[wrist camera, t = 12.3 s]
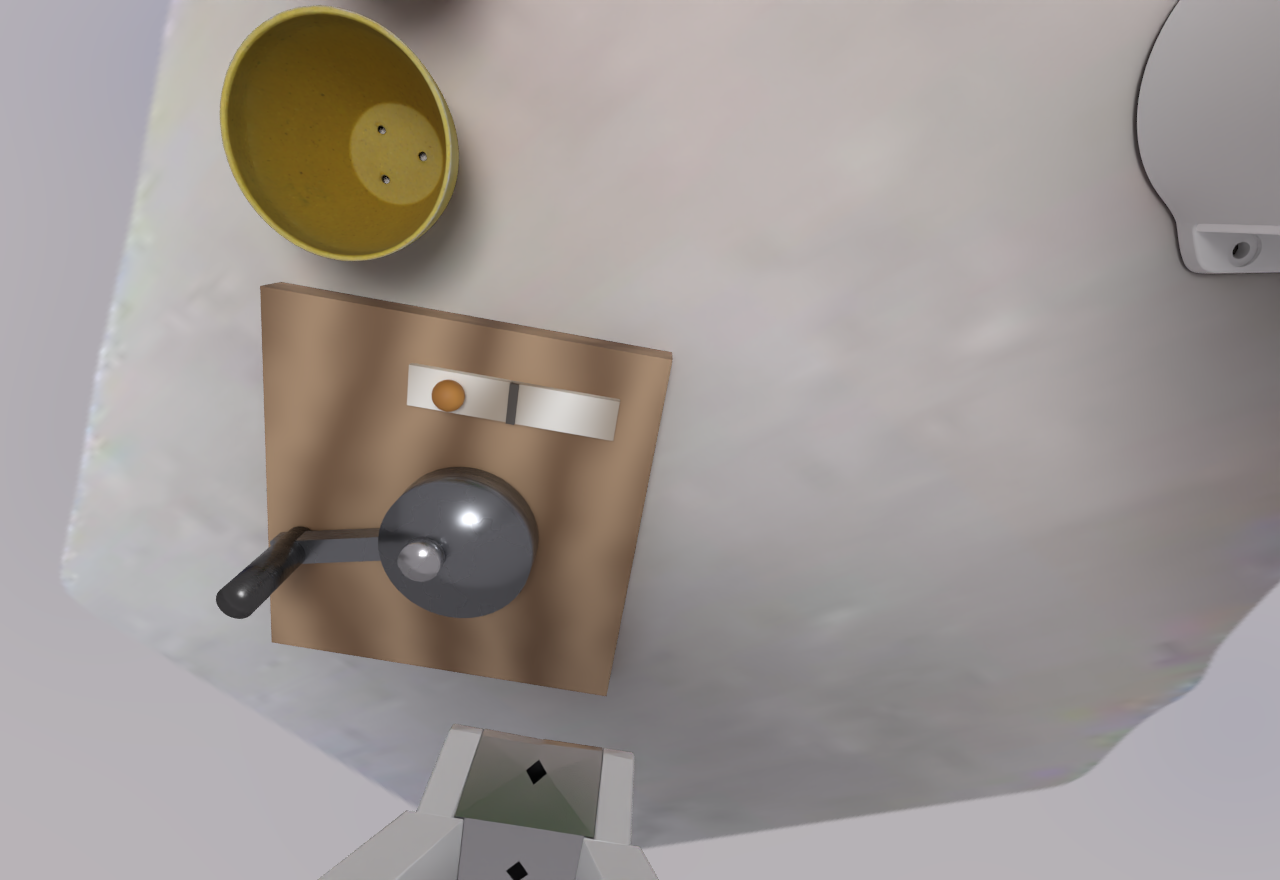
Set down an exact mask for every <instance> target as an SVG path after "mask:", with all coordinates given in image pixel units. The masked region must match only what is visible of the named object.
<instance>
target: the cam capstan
mask: <svg viewBox="0 0 1280 880" xmlns="http://www.w3.org/2000/svg"><path fill="white" fill-rule="evenodd" d="M538 541H539V537H538V528H537V523H536V520H535V517H534V514H533V512H532V510H531V508H530V506H529V505H528V503H527V502H526V500H525V499H524V498H523V496H522V495H521V494H520V493H519V492H518V491H517V490H516V489H515V488H514V487H512V486H511V485H510V484H509V483H507V482H506V481H504V480H503V479H501V478H499V477H497V476H496V475H494V474H491V473H489V472H486V471H483V470H479V469H475V468H469V467H448V468H442V469H438V470H435V471H432V472H430V473H427V474H425V475H424V476H422V477H420V478H419V479H417V480H416V481H415V482H413V483H412V484H411V485H410V486H409V487H408V488H407V489H406V490H405V492H404V493H403V494H402V495H401V496H400V497H399V498H398V499H397V500H396V502H395V503H394V504H393V505H392V506H391V507H390V509H389V510H388V511H387V513H386V514H385V516H384V519H383V521H382V523H381V526H380V528H368V529H345V530H321V531H311V530H309V529H308V528H305V527H301V526H297V527H293V528H291V529H290V530H289V531H287V532H280V533H279V534H278V535H277V536H276V537H275V538H273V539H272V540H271V541H270V545H271V546H270V547H269V548H268V549H267V550H266V551H264V552H263V553H262V554H261V555H260V556H259V557H258V558H256V559H255V560H254V561H253V562H252V563H251V564H250V565H248V566H247V567H246V568H245V569H244V570H243V571H242V572H240V573H239V574H238V575H237V576H236V577H235V578H233V579H232V580H231V581H230V582H229V583H228V584H227V585H225V586H224V587H223V588H222V589H221V590H220V591H219V592H218V593H217V596H216V602H217V605H218V607H219V608H220V610H221V611H222V612H223V613H225V614H226V615H228V616H230V617H232V618H237V619H242V618H246V617H248V616H250V615H251V614H252V613H253V612H254V611H255V610H256V609H257V608H258V607H259V606H260V605H261V604H262V603H263V602H264V601H265V600H266V599H267V598H268V597H269V596H270V595H271V594H272V593H273V592H274V591H275V590H276V589H277V588H278V587H279V586H280V585H281V584H282V583H283V582H284V581H285V580H286V579H287V578H288V577H289V576H290V575H291V574H292V573H293V572H294V571H295V570H296V569H297V568H298V567H299V566H300V565H301V564H310V563H335V562H361V561H381V563H382V566H383V568H384V570H385V572H386V574H387V576H388V578H389V579H390V581H391V582H392V583H393V585H394V586H395V587H396V588H397V589H398V590H399V591H400V592H401V593H402V594H403V595H404V596H405V597H406V598H407V599H409V600H410V601H411V602H413V603H414V604H416V605H418V606H419V607H421V608H423V609H425V610H427V611H430V612H432V613H435V614H438V615H442V616H446V617H453V618H474V617H480V616H485V615H488V614H491V613H494V612H496V611H498V610H500V609H502V608H503V607H505V606H506V605H508V604H509V603H510V602H511V601H512V600H514V599H515V598H516V597H517V595H518V594H519V593H520V592H521V590H522V589H523V587H524V585H525V584H526V581H527V579H528V576H529V573H530V571H531V568H532V565H533V562H534V559H535V557H536V553H537V549H538Z"/></svg>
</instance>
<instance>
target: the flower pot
mask: <svg viewBox="0 0 1280 880" xmlns="http://www.w3.org/2000/svg"><path fill="white" fill-rule="evenodd" d="M220 126H221V136H222V141H223V146H224V150H225V154H226V157H227V160H228V163H229V166H230V168H231V171H232V173H233V176H234V178H235V180H236V182H237V183H238V186H239V187H240V189H241V191H242V193H243V194H244V196H245V197H246V199H247V200H248V202H249V203H250V205H251V206H252V207H253V208H254V210H255V211H256V212H257V213H258V214H259V216H260V217H261V218H262V219H263V220H264V221H265V222H266V223H267V224H268V225H269V226H270V227H271V228H273V229H274V230H275V231H276V232H277V233H278V234H280V235H281V236H283V237H284V238H285V239H287V240H288V241H290V242H291V243H293V244H294V245H296V246H298V247H300V248H302V249H304V250H306V251H308V252H311V253H313V254H316V255H319V256H322V257H326V258H329V259H334V260H341V261H366V260H372V259H377V258H381V257H384V256H387V255H390V254H392V253H395V252H397V251H399V250H401V249H403V248H404V247H406V246H408V245H410V244H411V243H413V242H414V241H416V240H417V239H418V238H420V237H421V236H422V235H423V234H424V233H426V232H427V231H428V230H429V229H430V228H431V227H432V226H433V225H434V224H435V222H436V221H437V220H438V219H439V217H440V216H441V215H442V213H443V211H444V210H445V208H446V207H447V205H448V203H449V201H450V198H451V196H452V194H453V191H454V188H455V184H456V180H457V174H458V166H459V148H458V139H457V134H456V129H455V126H454V122H453V119H452V116H451V113H450V111H449V108H448V106H447V103H446V101H445V99H444V97H443V95H442V93H441V91H440V89H439V87H438V86H437V84H436V82H435V81H434V79H433V78H432V76H431V75H430V73H429V72H428V70H427V69H426V68H425V66H424V65H423V64H422V63H421V61H420V60H419V59H418V58H417V56H416V55H415V54H414V53H413V52H412V51H411V50H410V49H409V47H408V46H407V45H406V44H405V43H404V42H402V41H401V40H400V39H399V38H398V37H397V36H395V35H394V34H393V33H392V32H390V31H389V30H388V29H386V28H385V27H383V26H382V25H380V24H379V23H377V22H375V21H373V20H371V19H369V18H367V17H365V16H363V15H361V14H358V13H355V12H353V11H350V10H346V9H342V8H338V7H332V6H322V5H316V6H303V7H297V8H294V9H290V10H287V11H284V12H281V13H279V14H277V15H275V16H273V17H271V18H270V19H268V20H267V21H265V22H264V23H262V24H261V25H260V26H258V27H257V28H256V29H255V30H254V31H252V33H251V34H250V35H249V36H247V38H246V39H245V40H244V41H243V43H242V44H241V46H240V47H239V48H238V49H237V51H236V53H235V55H234V57H233V59H232V60H231V62H230V65H229V68H228V70H227V72H226V76H225V80H224V85H223V88H222V94H221V101H220ZM379 126H383V127H384V128H385V130H386V132H385V134H381V133H379V131H378V127H379ZM421 152H425V154H426V156H427V159H426V160H425V161H422V160H421V159H420V158H419V154H420V153H421ZM384 175H386V176H388V177H389V179H390V182H389V183H388V184H385V183H384V182H383V176H384Z"/></svg>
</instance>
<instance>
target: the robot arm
mask: <svg viewBox="0 0 1280 880" xmlns="http://www.w3.org/2000/svg"><path fill="white" fill-rule="evenodd" d="M1137 136H1138V144H1139V150H1140V155H1141V158H1142V162H1143V165H1144V168H1145V170H1146V173H1147V175H1148V177H1149V179H1150V181H1151V184H1152V185H1153V187H1154V188H1155V190H1156V192H1157V193H1158V194H1159V196H1160V197H1161V198H1162V200H1163V201H1164V202H1165V204H1166V205H1167V206H1168V208H1169V209H1170V211H1171V213H1172V214H1173V216H1174V218H1175V220H1176V223H1177V232H1178V239H1179V246H1180V251H1181V256H1182V259H1183V261H1184V263H1185V265H1186V267H1187V268H1188V269H1189V270H1191V271H1192V272H1195V273H1201V274H1212V273H1272V272H1280V0H1180V1H1179V2H1178V4H1177V5H1176V7H1175V8H1174V10H1173V11H1172V13H1171V14H1170V16H1169V18H1168V19H1167V21H1166V23H1165V25H1164V26H1163V28H1162V30H1161V32H1160V34H1159V36H1158V38H1157V40H1156V42H1155V45H1154V47H1153V49H1152V52H1151V54H1150V57H1149V60H1148V63H1147V65H1146V69H1145V72H1144V76H1143V80H1142V84H1141V88H1140V94H1139V100H1138V109H1137ZM1237 244H1238V250H1237V252H1236V254H1235V255H1233V254H1232V252H1233V249H1234V247H1235V246H1236V245H1237ZM634 760H635V758H634V755H633V752H626V751H620V750H613V749H606V748H603V750H602V748H600V747H594V746H587V745H580V744H574V743H567V742H560V741H553V740H547V739H544V740H542V739H537V738H532V737H526V736H521V735H516V734H510V733H505V732H500V731H494V730H489V729H480V728H475V727H470V726H464V725H459V724H454V725H453V726H452V727H451V729H450V730H449V732H448V734H447V737H446V739H445V741H444V744H443V746H442V749H441V751H440V754H439V756H438V759H437V761H436V764H435V766H434V769H433V771H432V774H431V776H430V778H429V781H428V783H427V786H426V788H425V791H424V793H423V796H422V798H421V801H420V803H419V806H418V808H417V811H416V812H414V811H405V812H404V813H403V814H401V815H400V816H399V817H398V818H396V819H395V820H394V821H392V822H391V823H390V824H389V825H387V826H386V827H385V828H383V829H382V830H381V831H380V832H378V833H377V834H376V835H374V836H373V837H372V838H371V839H369V840H368V841H367V842H366V843H364V844H363V845H362V846H360V847H359V848H358V849H357V850H355V851H354V852H353V853H352V854H350V855H349V856H348V857H346V858H345V859H344V860H342V861H341V862H340V863H339V864H337V865H336V866H335V867H334V868H332V869H331V870H330V871H328V872H327V873H326V874H324V875H323V876H322V877H321V878H319V879H318V880H659V879H658V877H657V876H656V874H655V872H654V871H653V869H652V867H651V865H650V863H649V862H648V860H647V858H646V856H645V855H644V853H643V851H642V849H641V848H640V847H638V846H633V845H631V829H632V806H633V783H634Z"/></svg>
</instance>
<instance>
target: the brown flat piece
mask: <svg viewBox="0 0 1280 880" xmlns="http://www.w3.org/2000/svg"><path fill="white" fill-rule="evenodd" d="M260 290H261V322H262V353H263V384H264V415H265V446H266V477H267V509H268V540H269V547H270V546H271V545H270V541H271V540H272V539H273V538H275V537H276V536H277V535H278V534H279V533H280V532H287V531H289V530H290V529H291V528H293V527H297V526H301V527H305V528H308V529H309V530H311V531H321V530H345V529H368V528H380V526H381V523H382V521H383V519H384V516H385V514H386V513H387V511H388V510H389V509H390V507H391V506H392V505H393V504H394V503H395V502H396V500H397V499H398V498H399V497H400V496H401V495H402V494H403V493H404V492H405V490H406V489H407V488H408V487H409V486H410V485H411V484H412V483H413V482H415V481H416V480H417V479H419V478H420V477H422V476H424V475H425V474H427V473H430V472H432V471H435V470H438V469H442V468H448V467H469V468H475V469H479V470H483V471H486V472H489V473H491V474H494V475H496V476H497V477H499V478H501V479H503V480H504V481H506V482H507V483H509V484H510V485H511V486H512V487H514V488H515V489H516V490H517V491H518V492H519V493H520V494H521V495H522V496H523V498H524V499H525V500H526V502H527V503H528V505H529V506H530V508H531V510H532V512H533V514H534V517H535V520H536V523H537V528H538V537H539V541H538V549H537V553H536V557H535V559H534V562H533V565H532V568H531V571H530V573H529V576H528V579H527V581H526V584H525V585H524V587H523V589H522V590H521V592H520V593H519V594H518V595H517V597H516V598H515V599H514V600H512V601H511V602H510V603H509V604H508V605H506V606H505V607H503V608H502V609H500V610H498V611H496V612H494V613H491V614H488V615H485V616H480V617H474V618H453V617H446V616H442V615H438V614H435V613H432V612H430V611H427V610H425V609H423V608H421V607H419V606H418V605H416V604H414V603H413V602H411V601H410V600H409V599H407V598H406V597H405V596H404V595H403V594H402V593H401V592H400V591H399V590H398V589H397V588H396V587H395V586H394V585H393V583H392V582H391V581H390V579H389V578H388V576H387V574H386V572H385V570H384V568H383V566H382V563H381V561H361V562H335V563H310V564H301V565H300V566H299V567H298V568H297V569H296V570H295V571H294V572H293V573H292V574H291V575H290V576H289V577H288V578H287V579H286V580H285V581H284V582H283V583H282V584H281V585H280V586H279V587H278V588H277V589H276V590H275V591H274V592H273V593H272V594H271V595H270V602H271V633H272V642H274V643H280V644H286V645H292V646H298V647H305V648H311V649H317V650H323V651H329V652H336V653H342V654H348V655H354V656H360V657H366V658H373V659H379V660H385V661H391V662H397V663H404V664H410V665H416V666H422V667H428V668H435V669H441V670H447V671H453V672H459V673H465V674H472V675H478V676H484V677H490V678H496V679H503V680H509V681H515V682H521V683H527V684H534V685H540V686H546V687H552V688H558V689H564V690H571V691H577V692H583V693H589V694H595V695H602V696H606V695H607V690H608V685H609V680H610V675H611V669H612V664H613V659H614V654H615V649H616V644H617V639H618V634H619V629H620V624H621V619H622V614H623V609H624V603H625V598H626V593H627V588H628V583H629V578H630V573H631V568H632V563H633V558H634V553H635V548H636V543H637V537H638V532H639V527H640V522H641V517H642V512H643V507H644V502H645V497H646V492H647V487H648V482H649V477H650V471H651V466H652V461H653V456H654V451H655V446H656V441H657V436H658V431H659V426H660V421H661V416H662V410H663V405H664V400H665V395H666V390H667V385H668V380H669V375H670V370H671V365H672V352H667V351H661V350H656V349H650V348H645V347H639V346H633V345H628V344H622V343H617V342H611V341H606V340H600V339H594V338H589V337H583V336H578V335H572V334H567V333H561V332H556V331H550V330H544V329H539V328H533V327H528V326H522V325H517V324H511V323H505V322H500V321H494V320H489V319H483V318H478V317H472V316H467V315H461V314H455V313H450V312H444V311H439V310H433V309H428V308H422V307H417V306H411V305H405V304H400V303H394V302H389V301H383V300H378V299H372V298H366V297H361V296H355V295H350V294H344V293H339V292H333V291H328V290H322V289H316V288H311V287H305V286H300V285H294V284H289V283H283V282H279V283H274V284H269V285H263V286H260Z"/></svg>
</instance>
